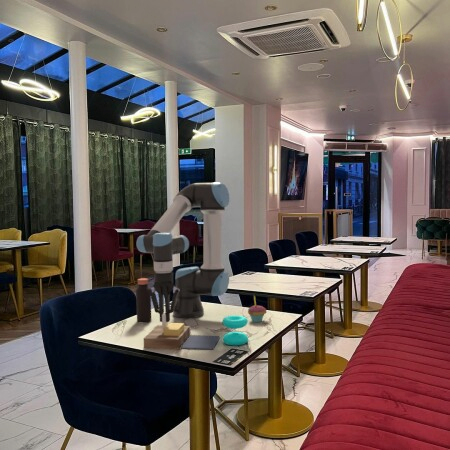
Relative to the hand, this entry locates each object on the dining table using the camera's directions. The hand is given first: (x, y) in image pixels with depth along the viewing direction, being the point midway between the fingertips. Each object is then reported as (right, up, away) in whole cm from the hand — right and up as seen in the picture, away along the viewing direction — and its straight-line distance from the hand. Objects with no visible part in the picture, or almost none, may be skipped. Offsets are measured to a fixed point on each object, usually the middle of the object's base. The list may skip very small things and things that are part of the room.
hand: (165, 329), depth 186 cm
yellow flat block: (+4, -1, -1) cm, 4 cm away
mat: (+15, -5, -2) cm, 15 cm away
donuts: (+28, -5, -3) cm, 29 cm away
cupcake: (+39, -3, +28) cm, 48 cm away
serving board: (+1, -5, 0) cm, 5 cm away
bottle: (-14, -3, +32) cm, 35 cm away
